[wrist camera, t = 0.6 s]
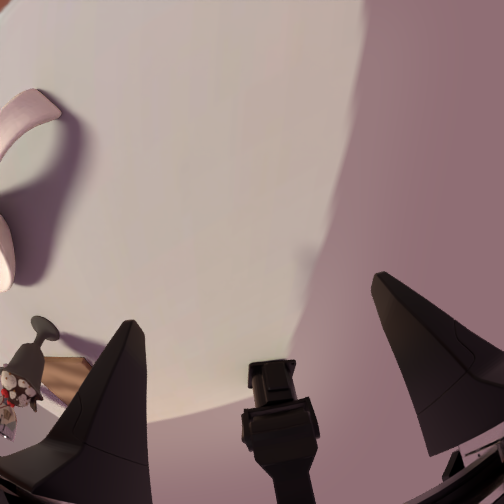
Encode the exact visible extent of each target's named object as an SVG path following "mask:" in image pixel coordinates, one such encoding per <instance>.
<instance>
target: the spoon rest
mask: <svg viewBox="0 0 504 504" xmlns="http://www.w3.org/2000/svg"><path fill="white" fill-rule="evenodd" d="M60 116H61V111H60V110H59V109H58V108H57V107H56V106H55V105H54V104H53V103H51V102H50V101H49V100H48V99H47V98H46V97H45V96H44V95H43V94H42V93H40V92H39V91H38V90H36V89H34V88H32V89H29V90H26V91H23V92H21V93H19V94H18V95H16V96H15V97H14V98H12V99H11V100H10V101H9V102H8V103H7V104H6V105H5V106H4V107H3V108H2V109H1V110H0V162H1V160H2V158H3V157H4V155H5V154H6V152H7V151H8V149H9V148H10V147H11V146H12V145H13V143H14V142H15V141H16V140H17V139H18V138H20V137H21V136H22V135H23V134H24V133H26V132H27V131H29V130H30V129H32V128H34V127H36V126H38V125H41V124H44V123H46V122H49V121H52V120H55V119H57V118H59V117H60ZM14 276H15V254H14V247H13V242H12V236H11V232H10V229H9V227H8V225H7V223H6V221H5V220H4V218H3V217H2V216H1V215H0V292H6V291H8V290H9V289H10V288H11V286H12V285H13V281H14Z"/></svg>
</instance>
